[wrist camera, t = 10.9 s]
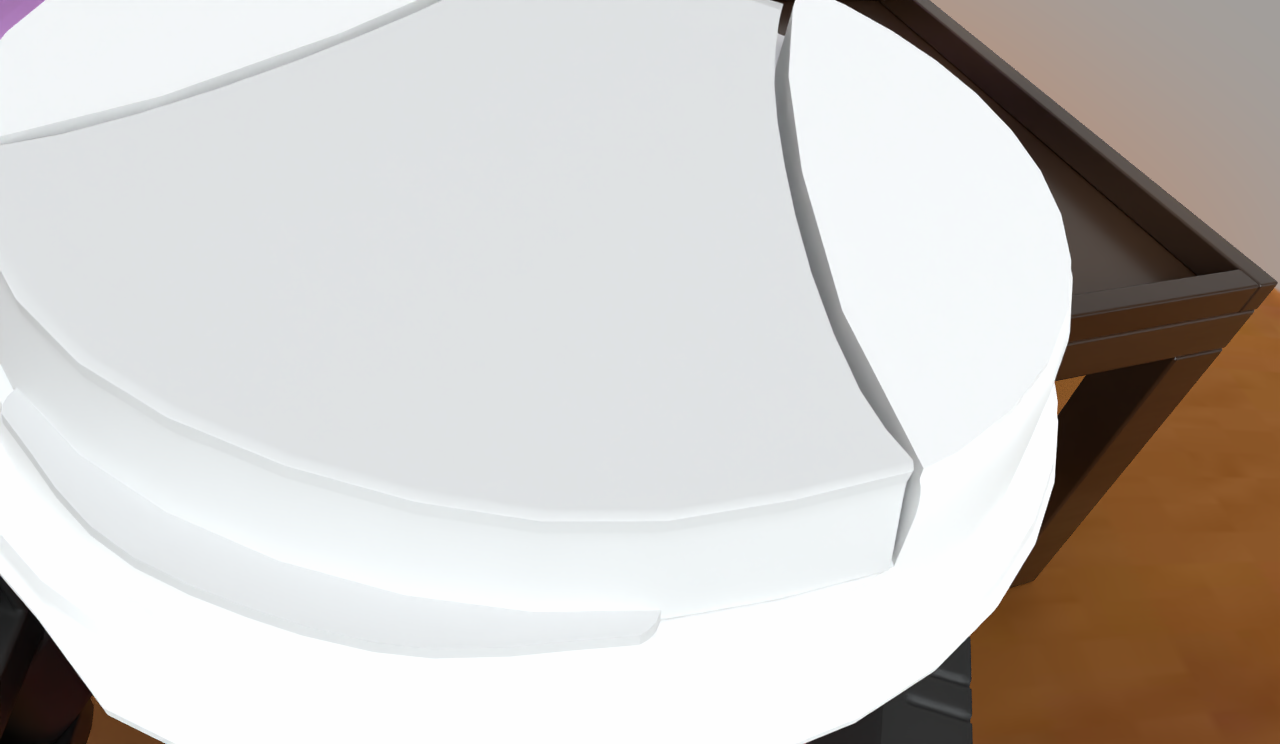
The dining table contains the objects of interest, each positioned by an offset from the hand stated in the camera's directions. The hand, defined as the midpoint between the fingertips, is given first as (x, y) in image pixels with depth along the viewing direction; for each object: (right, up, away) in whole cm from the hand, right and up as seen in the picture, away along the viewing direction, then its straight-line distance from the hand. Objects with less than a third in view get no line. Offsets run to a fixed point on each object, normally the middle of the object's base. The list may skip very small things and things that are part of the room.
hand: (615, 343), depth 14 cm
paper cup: (-2, -9, +2) cm, 9 cm away
